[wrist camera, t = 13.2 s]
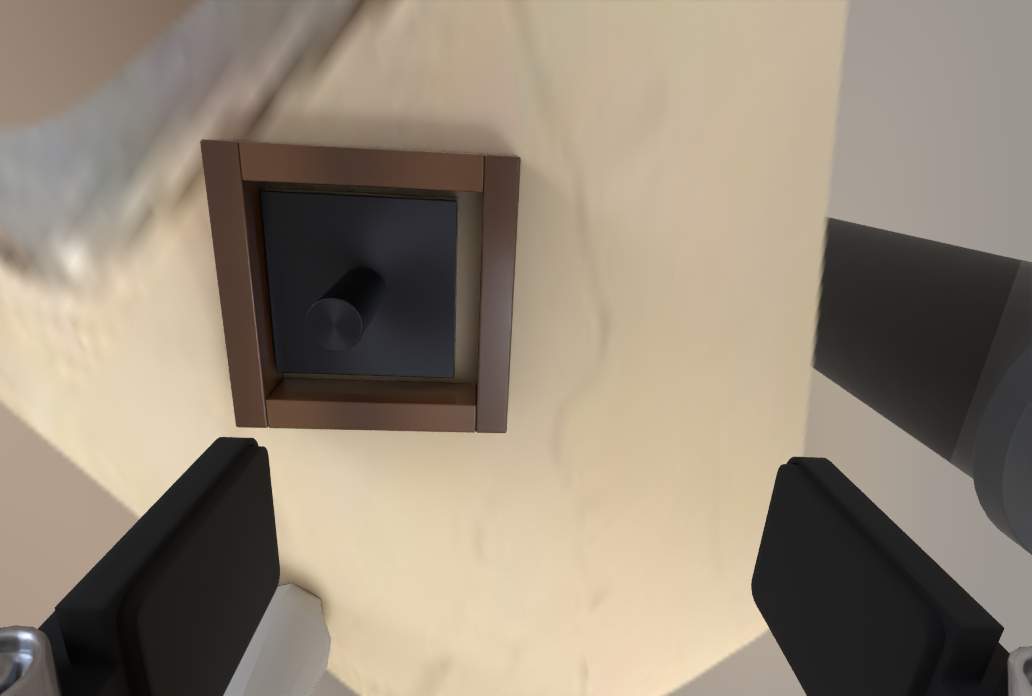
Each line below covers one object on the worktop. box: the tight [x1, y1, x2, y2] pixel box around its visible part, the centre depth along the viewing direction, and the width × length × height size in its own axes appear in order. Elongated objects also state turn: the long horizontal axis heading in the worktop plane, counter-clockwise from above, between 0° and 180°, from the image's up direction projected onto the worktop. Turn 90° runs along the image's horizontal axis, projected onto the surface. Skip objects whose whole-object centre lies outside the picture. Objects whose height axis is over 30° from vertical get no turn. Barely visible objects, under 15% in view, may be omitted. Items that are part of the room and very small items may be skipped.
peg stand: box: [260, 188, 459, 378], centre depth 23 cm, size 8×8×6 cm
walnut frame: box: [200, 140, 521, 433], centre depth 25 cm, size 12×12×2 cm
